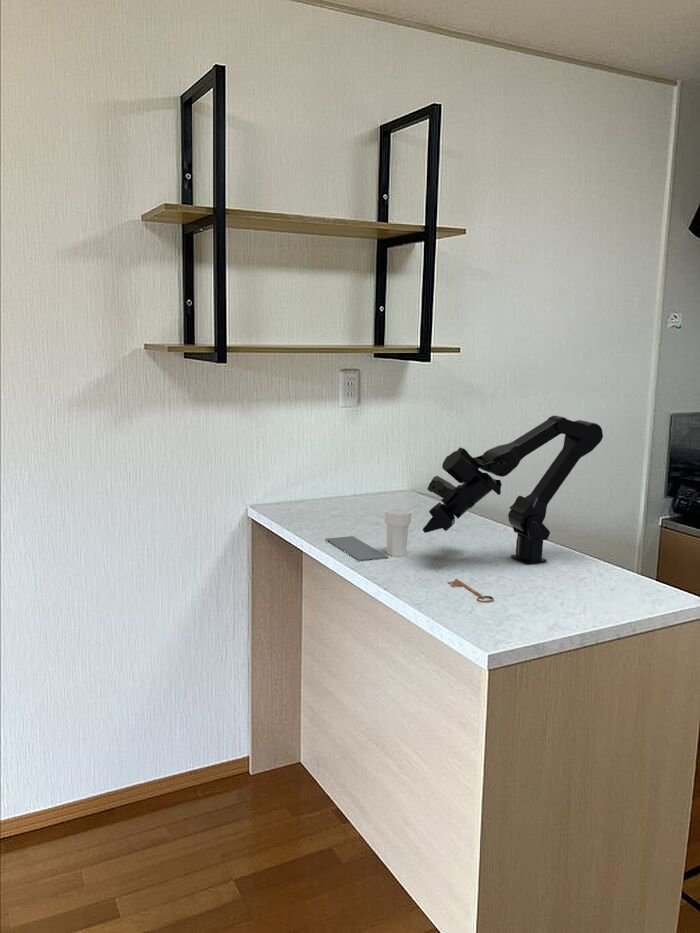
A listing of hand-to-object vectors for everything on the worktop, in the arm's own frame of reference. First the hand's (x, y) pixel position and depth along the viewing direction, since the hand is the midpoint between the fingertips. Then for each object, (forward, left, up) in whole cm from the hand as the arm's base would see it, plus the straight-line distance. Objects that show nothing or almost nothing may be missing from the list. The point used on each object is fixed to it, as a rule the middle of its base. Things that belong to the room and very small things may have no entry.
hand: (423, 531), depth 206 cm
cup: (+5, +5, -7) cm, 10 cm away
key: (-26, +4, -7) cm, 27 cm away
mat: (+12, +13, -7) cm, 19 cm away
